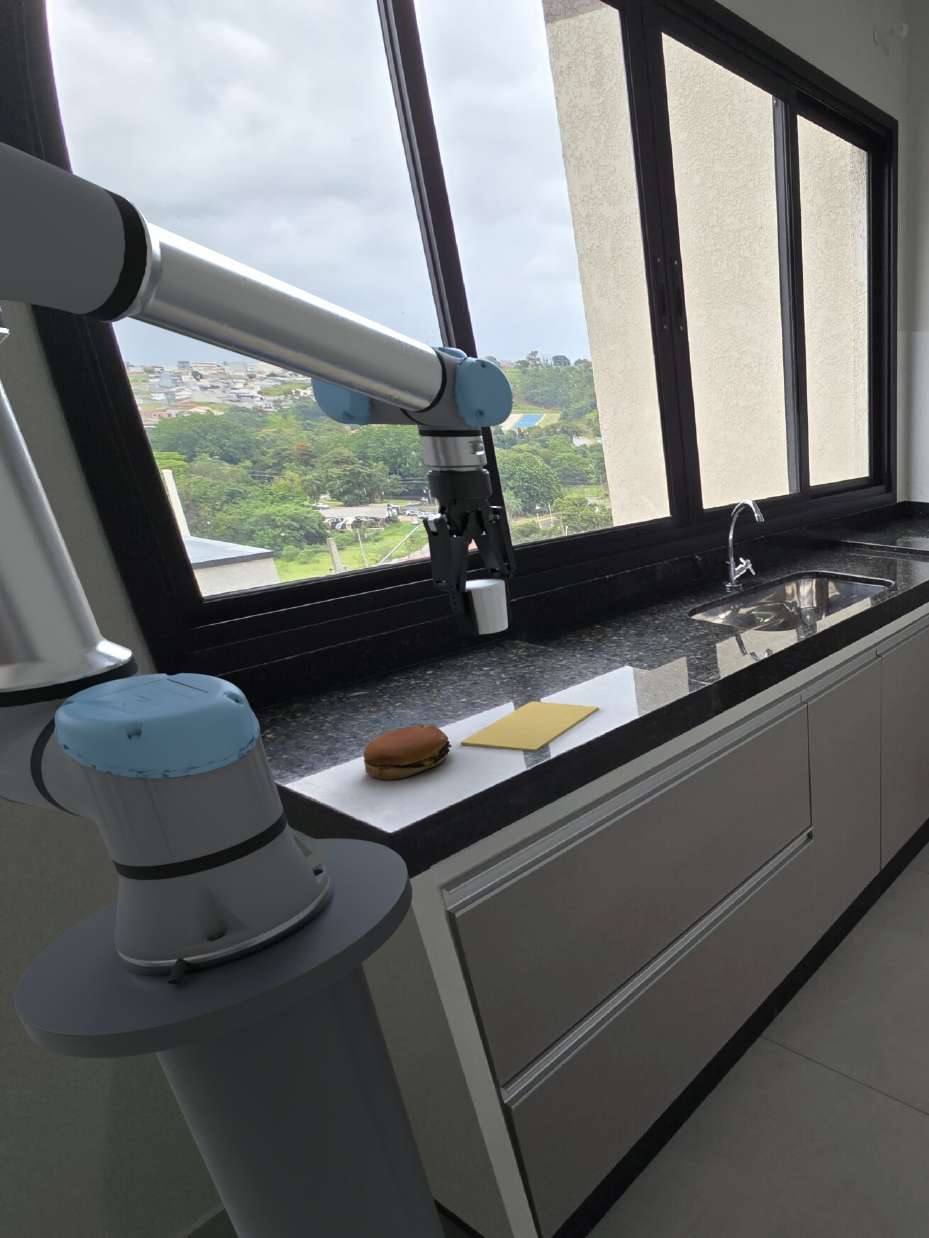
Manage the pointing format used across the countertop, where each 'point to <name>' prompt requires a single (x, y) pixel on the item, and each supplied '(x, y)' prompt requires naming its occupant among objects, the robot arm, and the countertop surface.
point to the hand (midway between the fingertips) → (486, 627)
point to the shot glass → (489, 604)
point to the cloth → (530, 726)
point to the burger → (405, 752)
